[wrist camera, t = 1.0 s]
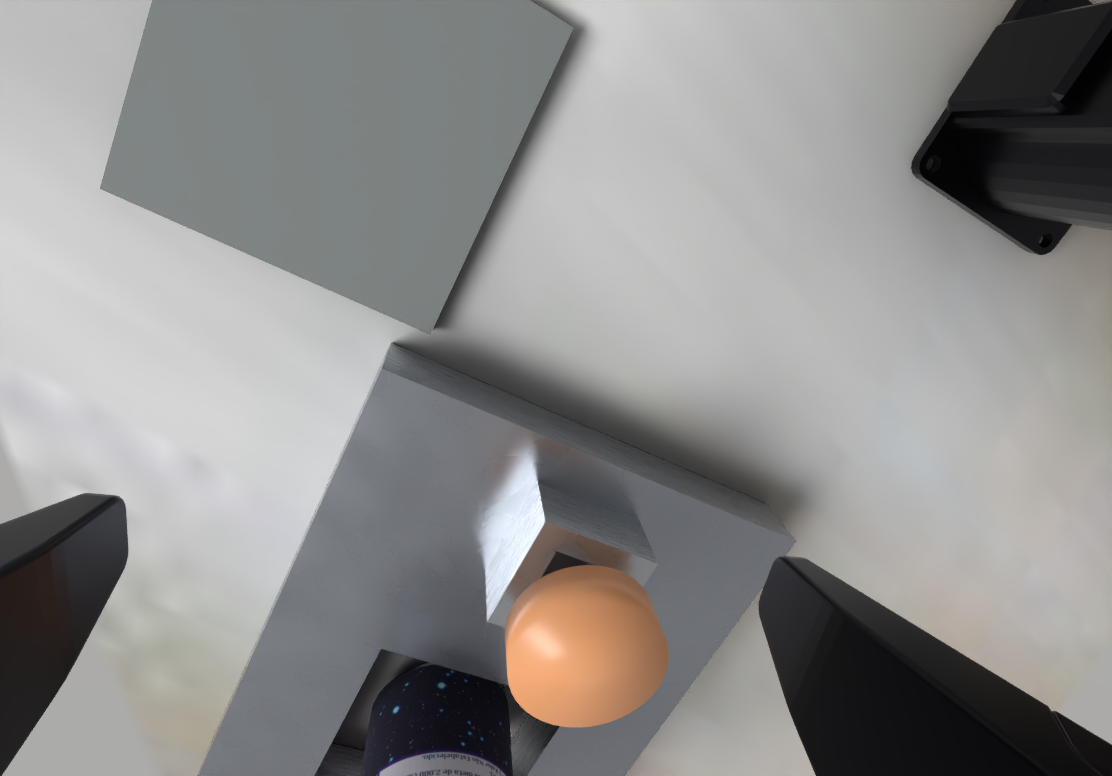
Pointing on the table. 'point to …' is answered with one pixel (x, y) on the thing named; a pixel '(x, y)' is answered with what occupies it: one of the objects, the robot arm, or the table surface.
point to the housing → (482, 568)
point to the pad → (335, 132)
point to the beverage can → (439, 726)
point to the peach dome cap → (584, 647)
